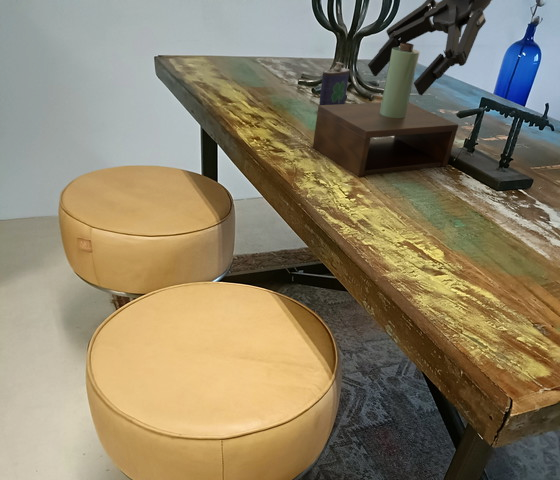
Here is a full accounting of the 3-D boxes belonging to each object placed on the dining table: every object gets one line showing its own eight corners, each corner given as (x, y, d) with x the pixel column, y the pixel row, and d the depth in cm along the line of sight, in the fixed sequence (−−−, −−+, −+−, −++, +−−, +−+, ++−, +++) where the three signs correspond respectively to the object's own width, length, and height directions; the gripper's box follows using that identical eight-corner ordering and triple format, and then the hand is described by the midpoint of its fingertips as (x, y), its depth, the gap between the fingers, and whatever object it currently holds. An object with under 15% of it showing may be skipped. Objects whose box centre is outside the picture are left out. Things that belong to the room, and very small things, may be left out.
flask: (337, 107, 140) (345, 58, 133) (347, 110, 139) (355, 61, 132) (315, 112, 134) (321, 62, 127) (324, 116, 133) (332, 65, 126)
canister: (410, 117, 109) (426, 47, 101) (390, 119, 106) (405, 46, 99) (394, 110, 112) (409, 41, 104) (374, 111, 110) (387, 40, 102)
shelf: (446, 166, 113) (458, 124, 108) (358, 176, 104) (366, 131, 99) (397, 140, 124) (406, 101, 119) (312, 147, 114) (318, 105, 109)
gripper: (536, 16, 96) (446, 113, 99) (437, -7, 112) (362, 78, 115) (526, -24, 91) (431, 81, 93) (424, -42, 107) (346, 48, 110)
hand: (393, 79), depth 104 cm, fingers open, 13 cm apart
